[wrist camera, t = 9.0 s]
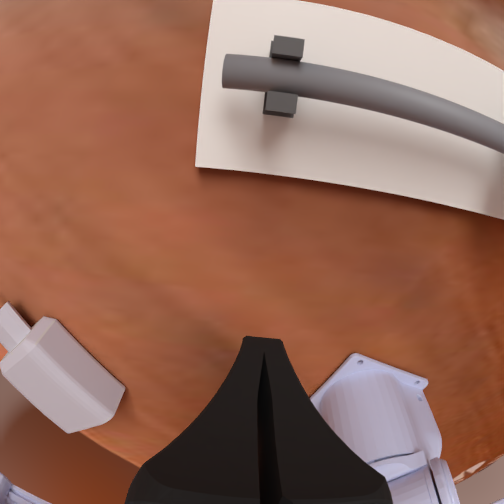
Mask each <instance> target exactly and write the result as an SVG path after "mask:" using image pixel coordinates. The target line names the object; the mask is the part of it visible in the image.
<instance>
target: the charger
mask: <svg viewBox="0 0 504 504" xmlns="http://www.w3.org/2000/svg"><path fill="white" fill-rule="evenodd" d="M0 343H1V344H2V345H3V346H4V347H5V348H6V349H7V351H8V353H7V354H6V355H5V356H4V358H3V359H2V360H1V362H0V368H1V371H2V375H3V376H4V377H5V378H6V379H7V380H8V381H9V382H10V383H11V384H12V385H13V386H14V387H15V388H16V389H17V390H18V391H19V392H20V393H21V394H23V396H25V397H26V398H27V399H28V400H29V401H30V402H31V403H32V404H33V405H34V406H35V407H37V408H38V409H39V410H40V411H41V412H42V413H43V414H44V415H46V416H47V417H48V418H49V419H50V420H52V421H53V422H54V423H55V424H56V425H58V426H59V427H60V428H61V429H63V430H64V431H65V432H66V433H72V432H76V431H80V430H84V429H87V428H91V427H95V426H98V425H101V424H104V423H106V422H108V421H109V420H110V419H111V418H112V417H113V416H114V415H115V412H116V410H117V407H118V405H119V403H120V400H121V398H122V396H123V393H124V391H125V386H124V385H122V384H121V383H120V382H119V381H118V380H117V379H116V378H115V377H114V376H112V375H111V374H110V373H109V372H108V371H107V370H106V369H105V368H104V367H103V366H102V365H101V364H100V363H99V362H98V361H96V360H95V359H94V358H93V357H92V356H91V355H90V354H89V353H88V352H87V351H86V350H85V349H84V348H83V347H82V346H81V345H80V344H79V343H78V342H77V341H76V339H75V338H74V337H73V336H72V335H71V334H70V333H69V332H68V331H67V330H66V329H65V328H64V327H63V326H62V325H61V323H60V322H59V321H58V320H57V319H54V318H49V317H45V316H43V317H42V318H41V319H40V320H39V321H38V322H37V323H36V324H35V325H34V326H32V327H30V326H29V325H28V324H27V322H26V321H25V320H24V319H23V318H22V317H21V315H20V314H19V313H18V312H17V311H16V309H15V308H14V307H13V306H12V304H11V303H10V302H9V301H8V302H6V304H5V305H4V306H3V307H2V308H1V309H0Z"/></svg>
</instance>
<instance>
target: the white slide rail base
mask: <svg viewBox="0 0 504 504" xmlns="http://www.w3.org/2000/svg"><path fill="white" fill-rule="evenodd" d="M195 167H205V168H216V169H227V170H237V171H246V172H255V173H264V174H272V175H280V176H287V177H295V178H302V179H309V180H316V181H322V182H329V183H335V184H341V185H347V186H353V187H359V188H365V189H370V190H376V191H381V192H386V193H392V194H397V195H402V196H407V197H411V198H416V199H421V200H426V201H430V202H435V203H439V204H443V205H448V206H452V207H456V208H460V209H464V210H468V211H472V212H476V213H480V214H484V215H488V216H492V217H495V218H499V219H503V220H504V71H503V70H501V69H500V68H498V67H496V66H494V65H492V64H490V63H489V62H487V61H485V60H483V59H481V58H479V57H477V56H475V55H473V54H471V53H469V52H467V51H464V50H462V49H460V48H458V47H456V46H454V45H451V44H449V43H447V42H444V41H442V40H440V39H437V38H435V37H432V36H430V35H427V34H424V33H422V32H419V31H416V30H414V29H411V28H408V27H405V26H402V25H399V24H396V23H393V22H390V21H386V20H383V19H380V18H376V17H373V16H369V15H365V14H362V13H358V12H354V11H350V10H345V9H341V8H336V7H332V6H327V5H321V4H316V3H310V2H304V1H298V0H213V6H212V12H211V19H210V26H209V34H208V41H207V49H206V57H205V66H204V74H203V83H202V93H201V103H200V113H199V124H198V136H197V149H196V163H195Z"/></svg>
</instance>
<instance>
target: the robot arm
mask: <svg viewBox="0 0 504 504" xmlns="http://www.w3.org/2000/svg"><path fill="white" fill-rule="evenodd" d="M360 360H361V361H360ZM358 361H359V362H358ZM427 385H428V381H427V379H425V378H422V377H420V376H417V375H414V374H411V373H409V372H406V371H403V370H400V369H398V368H395V367H392V366H390V365H387V364H384V363H382V362H379V361H376V360H374V359H371V358H368V357H366V356H363V355H361V354H358V353H354V354H352V355H350V356H349V357H348V358H347V359H346V361H345V362H344V363H343V364H342V365H341V366H340V367H339V368H338V369H337V370H336V371H335V372H334V374H333V375H332V376H331V377H330V378H329V379H328V380H327V381H326V382H325V383H324V384H323V385H322V386H321V387H320V388H319V389H318V390H317V391H316V392H315V393H314V394H313V395H312V396H311V397H310V398H309V397H308V395H307V394H306V392H305V390H304V388H303V387H302V385H301V383H300V381H299V379H298V377H297V375H296V373H295V371H294V369H293V367H292V365H291V363H290V361H289V358H288V356H287V353H286V351H285V348H284V345H283V342H282V341H281V340H280V339H272V338H262V337H252V336H246V337H244V338H243V341H242V345H241V348H240V351H239V354H238V356H237V358H236V361H235V363H234V364H233V366H232V368H231V370H230V372H229V374H228V376H227V377H226V379H225V381H224V382H223V384H222V385H221V387H220V388H219V390H218V391H217V393H216V394H215V396H214V397H213V398H212V400H211V401H210V402H209V404H208V405H207V406H206V407H205V409H204V410H203V411H202V412H201V413H200V415H199V416H198V417H197V418H196V419H195V420H194V421H193V422H192V423H191V424H190V425H189V426H188V427H187V428H186V429H185V430H184V431H183V432H182V433H181V434H180V435H179V436H178V437H177V438H176V439H174V440H173V441H172V442H171V443H170V444H169V445H168V446H166V447H165V448H164V449H163V450H161V451H160V452H159V453H157V454H156V455H155V456H153V457H152V458H150V459H149V460H148V461H146V462H145V463H144V464H143V465H142V467H141V468H140V470H139V471H138V473H137V474H136V476H135V478H134V479H133V481H132V483H131V485H130V488H129V490H128V494H127V497H126V501H125V504H460V502H459V499H458V495H457V492H456V488H455V485H454V482H453V479H452V476H451V473H450V470H449V468H448V465H447V462H446V460H443V459H439V458H440V454H441V449H442V439H441V434H440V432H439V429H438V427H437V424H436V422H435V419H434V417H433V414H432V412H431V409H430V407H429V405H428V402H427V400H426V397H425V395H424V393H423V391H422V390H423V389H424V388H425V387H426V386H427ZM0 504H51V503H49V502H47V501H45V500H43V499H41V498H38V497H36V496H34V495H32V494H30V493H29V492H26V491H25V490H23V489H21V488H19V487H17V486H15V485H14V484H12V483H11V481H10V480H9V479H8V478H7V477H6V476H4V475H3V474H2V473H0ZM491 504H504V498H502V499H500V500H498V501H495V502H493V503H491Z"/></svg>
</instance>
